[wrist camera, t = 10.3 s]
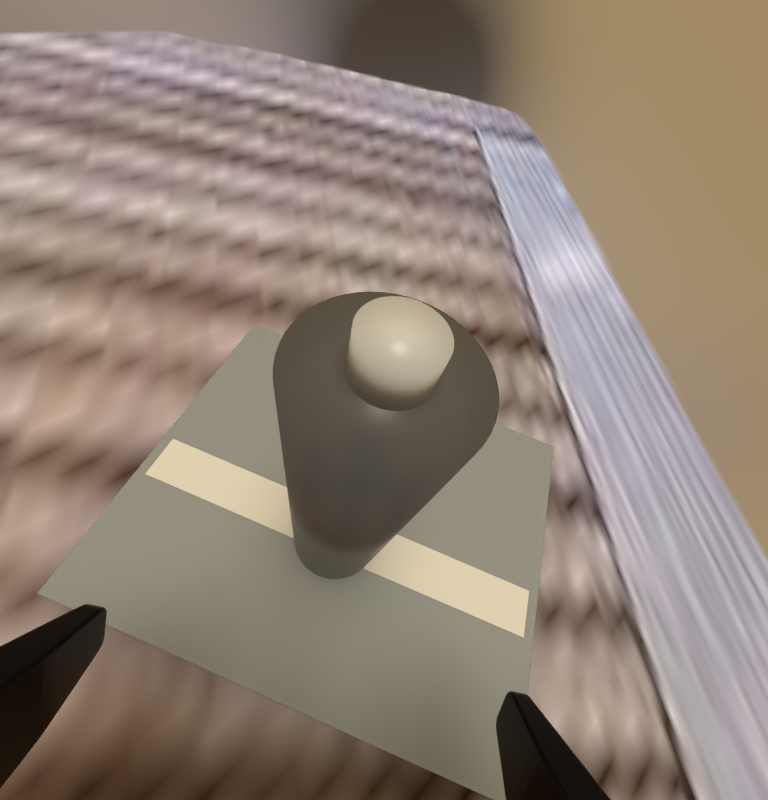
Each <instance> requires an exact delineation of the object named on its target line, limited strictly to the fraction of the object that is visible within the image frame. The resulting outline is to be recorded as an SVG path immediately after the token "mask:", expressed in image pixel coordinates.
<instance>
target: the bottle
mask: <svg viewBox="0 0 768 800" xmlns="http://www.w3.org/2000/svg"><path fill="white" fill-rule="evenodd" d="M273 386H274V394H275V401H276V409H277V416H278V424H279V432H280V439H281V447H282V454H283V462H284V469H285V477H286V484H287V492H288V499H289V507H290V514H291V522H292V529H293V537H294V544H295V548H296V552H297V554H298V556H299V558H300V560H301V561H302V563H303V564H304V565H305V566H306V567H307V568H308V569H309V570H310V571H311V572H313V573H314V574H316V575H318V576H320V577H324V578H328V579H342V578H346V577H350V576H352V575H354V574H356V573H357V572H359V571H360V570H362V569H363V568H364V567H365V566H366V565H367V564H368V563H369V562H370V561H371V560H372V559H373V558H374V557H375V556H376V555H377V554H378V553H379V552H380V551H381V550H382V549H383V548H384V547H385V546H386V545H387V544H388V543H389V542H390V541H391V540H392V539H393V538H394V537H395V536H396V535H397V534H398V533H399V532H400V531H401V530H402V529H403V528H404V526H405V525H406V524H407V523H408V522H409V521H410V520H411V519H412V518H413V517H414V516H415V515H416V514H417V513H418V512H419V511H420V510H421V509H422V508H423V507H424V506H425V505H426V504H427V503H428V502H429V501H430V500H431V499H432V498H433V497H434V496H435V495H436V494H437V493H438V492H439V491H440V490H441V489H442V488H443V487H444V486H445V485H446V484H447V483H448V482H449V481H450V480H451V479H452V478H453V477H454V476H455V475H456V474H457V473H458V472H459V471H460V470H461V469H462V468H463V467H464V466H465V465H466V464H467V463H468V462H469V461H470V460H471V459H472V458H473V457H474V456H475V454H476V453H477V452H478V451H479V450H480V449H481V448H482V447H483V446H484V444H485V443H486V441H487V439H488V438H489V436H490V435H491V433H492V430H493V428H494V425H495V423H496V419H497V415H498V409H499V390H498V384H497V380H496V375H495V373H494V370H493V367H492V365H491V363H490V361H489V359H488V357H487V355H486V353H485V352H484V350H483V349H482V347H481V346H480V344H479V343H478V342H477V341H476V340H475V338H474V337H473V336H472V335H471V334H470V333H469V332H468V331H467V330H466V329H465V328H464V327H463V326H462V325H461V324H459V323H458V322H457V321H455V320H454V319H453V318H452V317H450V316H448V315H447V314H445V313H444V312H442V311H440V310H439V309H437V308H435V307H433V306H431V305H429V304H426V303H424V302H421V301H419V300H416V299H413V298H410V297H406V296H402V295H397V294H392V293H384V292H357V293H350V294H344V295H341V296H337V297H333V298H330V299H328V300H325V301H323V302H321V303H319V304H317V305H315V306H313V307H311V308H310V309H308V310H307V311H306V312H304V313H303V314H301V315H300V316H299V317H298V318H297V319H296V320H295V321H294V322H293V323H292V324H291V325H290V327H289V328H288V329H287V330H286V332H285V333H284V335H283V337H282V339H281V340H280V342H279V345H278V347H277V350H276V353H275V357H274V363H273Z"/></svg>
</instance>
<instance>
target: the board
mask: <svg viewBox="0 0 768 800" xmlns="http://www.w3.org/2000/svg"><path fill="white" fill-rule="evenodd" d="M282 337H283V336H282V335H279V334H277V333H275V332H272V331H270V330H267V329H265V328H262V327H260V326H257V325H255V324H254V326H253V327H252V328H251V329H250V331H249V332H248V333H247V334H246V336H245V337H244V338H243V339H242V340H241V342H240V343H239V344H238V345H237V347H236V348H235V349H234V350H233V352H232V353H231V354H230V355H229V357H228V358H227V359H226V360H225V362H224V363H223V364H222V365H221V366H220V368H219V369H218V370H217V371H216V373H215V374H214V375H213V376H212V378H211V379H210V380H209V381H208V383H207V384H206V385H205V386H204V388H203V389H202V390H201V391H200V393H199V394H198V395H197V396H196V397H195V399H194V400H193V401H192V402H191V404H190V405H189V406H188V407H187V409H186V410H185V411H184V412H183V414H182V415H181V416H180V417H179V419H178V420H177V421H176V422H175V423H174V425H173V426H172V427H171V428H170V430H169V431H168V432H167V433H166V435H165V436H164V437H163V438H162V440H161V441H160V442H159V443H158V445H157V446H156V447H155V448H154V449H153V451H152V452H151V453H150V454H149V456H148V457H147V458H146V459H145V461H144V462H143V463H142V464H141V466H140V467H139V468H138V469H137V471H136V472H135V473H134V474H133V476H132V477H131V478H130V479H129V480H128V482H127V483H126V484H125V485H124V487H123V488H122V489H121V490H120V492H119V493H118V494H117V495H116V497H115V498H114V499H113V500H112V502H111V503H110V504H109V505H108V506H107V508H106V509H105V510H104V511H103V513H102V514H101V515H100V516H99V518H98V519H97V520H96V521H95V523H94V524H93V525H92V526H91V528H90V529H89V530H88V531H87V532H86V534H85V535H84V536H83V537H82V539H81V540H80V541H79V542H78V544H77V545H76V546H75V547H74V549H73V550H72V551H71V552H70V554H69V555H68V556H67V557H66V558H65V560H64V561H63V562H62V563H61V565H60V566H59V567H58V568H57V570H56V571H55V572H54V573H53V575H52V576H51V577H50V578H49V580H48V581H47V582H46V583H45V585H44V586H43V587H42V588H41V589H40V591H39V592H38V594H40V595H42V596H44V597H47V598H49V599H51V600H53V601H55V602H58V603H60V604H62V605H64V606H66V607H69V608H71V609H75V608H77V607H79V606H82V605H84V604H92V605H97V606H102V607H105V608H106V610H107V616H106V625H108V626H111V627H113V628H115V629H117V630H119V631H122V632H124V633H126V634H128V635H130V636H133V637H135V638H137V639H139V640H142V641H144V642H146V643H148V644H150V645H153V646H155V647H157V648H159V649H161V650H164V651H166V652H168V653H170V654H172V655H175V656H177V657H179V658H181V659H183V660H186V661H188V662H190V663H192V664H195V665H197V666H199V667H201V668H203V669H206V670H208V671H210V672H212V673H214V674H217V675H219V676H221V677H223V678H225V679H228V680H230V681H232V682H234V683H237V684H239V685H241V686H243V687H245V688H248V689H250V690H252V691H254V692H256V693H259V694H261V695H263V696H265V697H267V698H270V699H272V700H274V701H276V702H278V703H281V704H283V705H285V706H287V707H290V708H292V709H294V710H296V711H298V712H301V713H303V714H305V715H307V716H309V717H312V718H314V719H316V720H318V721H320V722H323V723H325V724H327V725H329V726H332V727H334V728H336V729H338V730H340V731H343V732H345V733H347V734H349V735H351V736H354V737H356V738H358V739H360V740H362V741H365V742H367V743H369V744H371V745H373V746H376V747H378V748H380V749H382V750H385V751H387V752H389V753H391V754H393V755H396V756H398V757H400V758H402V759H404V760H407V761H409V762H411V763H413V764H415V765H418V766H420V767H422V768H424V769H427V770H429V771H431V772H433V773H435V774H438V775H440V776H442V777H444V778H446V779H449V780H451V781H453V782H455V783H457V784H460V785H462V786H464V787H466V788H468V789H471V790H473V791H475V792H477V793H480V794H482V795H484V796H486V797H488V798H491V799H493V800H506V797H505V790H504V783H503V775H502V768H501V761H500V754H499V747H498V740H497V733H496V720H497V716H498V713H499V711H500V708H501V706H502V703H503V701H504V699H505V696H506V694H507V693H508V692H509V691H515V692H520V693H524V694H526V695H527V693H528V684H529V674H530V665H531V656H532V646H533V637H534V627H535V618H536V608H537V599H538V590H539V580H540V571H541V561H542V552H543V542H544V533H545V523H546V514H547V505H548V495H549V486H550V476H551V467H552V457H553V448H554V447H553V446H550V445H548V444H545V443H543V442H540V441H538V440H536V439H533V438H531V437H528V436H526V435H523V434H521V433H518V432H516V431H514V430H511V429H509V428H506V427H504V426H501V425H499V424H497V423H495V425H494V428H493V430H492V433H491V435H490V436H489V438H488V439H487V441H486V443H485V444H484V446H483V447H482V448H481V449H480V450H479V451H478V452H477V453H476V454H475V456H474V457H473V458H472V459H471V460H470V461H469V462H468V463H467V464H466V465H465V466H464V467H463V468H462V469H461V470H460V471H459V472H458V473H457V474H456V475H455V476H454V477H453V478H452V479H451V480H450V481H449V482H448V483H447V484H446V485H445V486H444V487H443V488H442V489H441V490H440V491H439V492H438V493H437V494H436V495H435V496H434V497H433V498H432V499H431V500H430V501H429V502H428V503H427V504H426V505H425V506H424V507H423V508H422V509H421V510H420V511H419V512H418V513H417V514H416V515H415V516H414V517H413V518H412V519H411V520H410V521H409V522H408V523H407V524H406V525H405V526H404V528H403V529H402V530H401V531H400V532H399V533H398V534H397V535H396V536H395V537H394V538H393V539H392V540H391V541H390V542H389V543H388V544H387V545H386V546H385V547H384V548H383V549H382V550H381V551H380V552H379V553H378V554H377V555H376V556H375V557H374V558H373V559H372V560H371V561H370V562H369V563H368V564H367V565H366V566H365V567H364V568H363V569H362V570H360V571H359V572H357V573H356V574H354V575H352V576H350V577H346V578H342V579H328V578H324V577H320V576H318V575H316V574H314V573H313V572H311V571H310V570H309V569H308V568H307V567H306V566H305V565H304V564H303V563H302V561H301V560H300V558H299V556H298V554H297V552H296V548H295V544H294V537H293V529H292V522H291V514H290V507H289V499H288V492H287V484H286V477H285V469H284V462H283V454H282V447H281V439H280V432H279V424H278V416H277V409H276V401H275V394H274V386H273V363H274V357H275V353H276V350H277V347H278V345H279V342H280V340H281V339H282Z"/></svg>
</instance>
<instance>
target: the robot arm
mask: <svg viewBox="0 0 768 800" xmlns="http://www.w3.org/2000/svg"><path fill="white" fill-rule="evenodd" d="M106 616H107V610H106V608H105V607H102V606H97V605H92V604H84V605H82V606H79V607H77V608H75V609H73V610H71V611H69V612H67V613H65V614H64V615H62V616H60V617H58V618H56V619H54V620H52V621H50V622H48V623H46V624H44V625H42V626H40V627H38V628H36V629H34V630H32V631H30V632H28V633H26V634H24V635H22V636H20V637H18V638H16V639H14V640H12V641H10V642H8V643H6V644H4V645H2V646H0V788H1V787H2V785H3V784H4V783H5V782H6V780H7V779H8V778H9V777H10V775H11V774H12V773H13V771H14V770H15V769H16V768H17V766H18V765H19V764H20V763H21V761H22V760H23V759H24V757H25V756H26V755H27V754H28V752H29V751H30V750H31V748H32V747H33V746H34V744H35V743H36V742H37V741H38V739H39V738H40V736H41V735H42V734H43V732H44V731H45V729H46V728H47V726H48V725H49V724H50V722H51V721H52V719H53V718H54V716H55V715H56V713H57V712H58V710H59V709H60V707H61V706H62V704H63V703H64V701H65V700H66V698H67V697H68V696H69V694H70V693H71V691H72V690H73V688H74V687H75V685H76V684H77V682H78V681H79V679H80V678H81V676H82V675H83V673H84V672H85V670H86V669H87V667H88V666H89V664H90V663H91V661H92V660H93V658H94V657H95V655H96V654H97V652H98V651H99V649H100V647H101V645H102V643H103V640H104V635H105V625H106ZM496 733H497V740H498V747H499V754H500V761H501V768H502V775H503V783H504V790H505V797H506V800H611V799H610V798H609V797H608V796H607V794H606V793H605V792H604V791H603V789H602V788H601V787H600V785H599V784H598V783H597V782H596V780H595V779H594V778H593V777H592V775H591V774H590V773H589V772H588V770H587V769H586V768H585V767H584V765H583V764H582V763H581V761H580V760H579V759H578V758H577V756H576V755H575V754H574V753H573V751H572V750H571V749H570V748H569V746H568V745H567V744H566V743H565V741H564V740H563V739H562V737H561V736H560V735H559V734H558V732H557V731H556V730H555V729H554V727H553V726H552V725H551V724H550V722H549V721H548V720H547V719H546V717H545V716H544V715H543V713H542V712H541V711H540V710H539V708H538V707H537V706H536V705H535V703H534V702H533V701H532V700H531V698H530V697H529V696H528V695H526V694H524V693H520V692H515V691H509V692H508V693H507V694H506V696H505V699H504V701H503V703H502V706H501V708H500V711H499V713H498V716H497V720H496Z"/></svg>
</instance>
